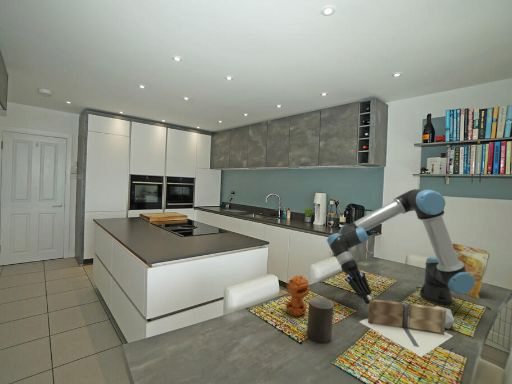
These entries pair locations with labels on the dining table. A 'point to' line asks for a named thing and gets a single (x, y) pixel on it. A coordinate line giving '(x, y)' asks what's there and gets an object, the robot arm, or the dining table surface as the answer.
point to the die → (448, 318)
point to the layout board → (410, 337)
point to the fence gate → (385, 312)
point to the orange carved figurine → (297, 295)
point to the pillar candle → (320, 320)
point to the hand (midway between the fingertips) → (374, 310)
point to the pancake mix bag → (473, 264)
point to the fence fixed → (424, 318)
